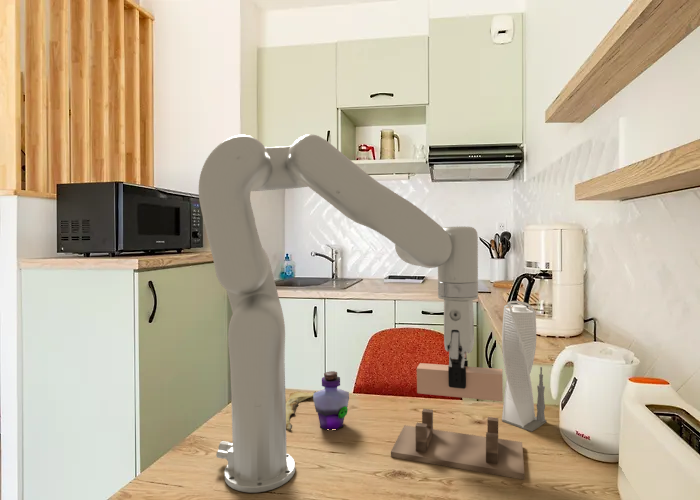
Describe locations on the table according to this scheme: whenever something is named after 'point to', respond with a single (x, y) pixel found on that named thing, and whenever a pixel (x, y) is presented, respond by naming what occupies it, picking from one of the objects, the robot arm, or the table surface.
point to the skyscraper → (520, 368)
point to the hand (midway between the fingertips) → (458, 382)
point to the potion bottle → (331, 402)
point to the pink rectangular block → (477, 382)
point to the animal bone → (294, 405)
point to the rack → (460, 448)
